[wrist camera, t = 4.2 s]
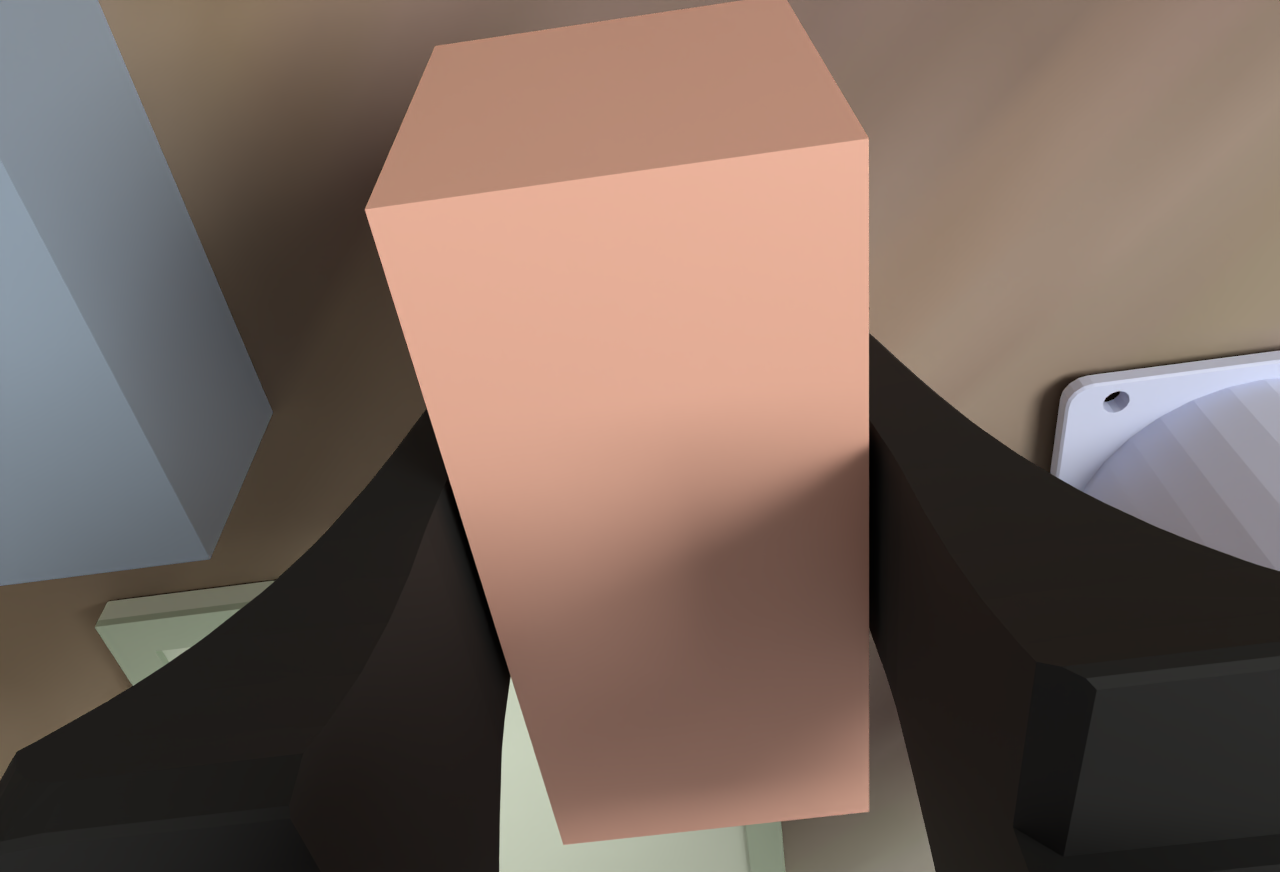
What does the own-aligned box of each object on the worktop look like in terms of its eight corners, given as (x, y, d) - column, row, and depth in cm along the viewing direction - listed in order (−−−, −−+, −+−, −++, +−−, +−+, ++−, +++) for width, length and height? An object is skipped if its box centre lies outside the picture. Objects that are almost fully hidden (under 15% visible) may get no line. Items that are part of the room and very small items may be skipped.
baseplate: (752, 520, 23) (756, 544, 23) (785, 897, 33) (790, 921, 32) (107, 601, 24) (94, 627, 23) (323, 947, 33) (318, 971, 33)
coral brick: (782, -6, 12) (869, 138, 8) (810, 569, 17) (869, 811, 13) (434, 46, 12) (365, 209, 8) (570, 597, 17) (562, 845, 14)
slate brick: (74, -68, 16) (-78, 9, 12) (274, 407, 21) (210, 559, 18) (-175, -28, 16) (-396, 59, 12) (86, 433, 21) (-16, 587, 18)
